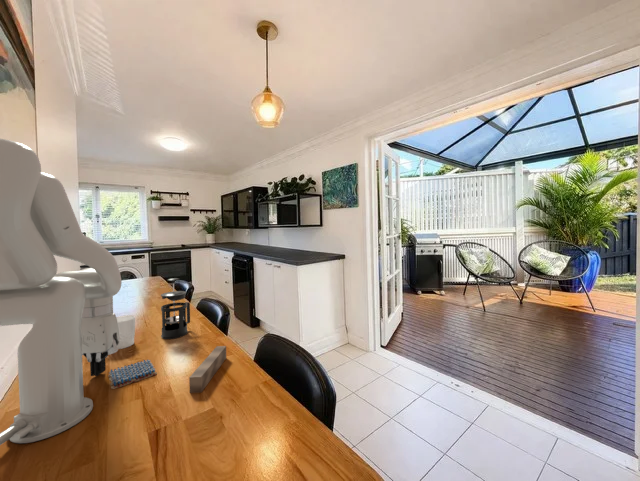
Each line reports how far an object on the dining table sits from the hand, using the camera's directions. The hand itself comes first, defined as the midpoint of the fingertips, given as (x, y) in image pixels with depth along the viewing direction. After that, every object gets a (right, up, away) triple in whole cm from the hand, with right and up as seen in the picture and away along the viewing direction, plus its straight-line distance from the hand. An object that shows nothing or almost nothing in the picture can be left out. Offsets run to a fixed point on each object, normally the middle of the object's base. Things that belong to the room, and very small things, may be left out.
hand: (98, 373), depth 73 cm
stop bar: (+32, 0, +1) cm, 32 cm away
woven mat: (+10, -1, 0) cm, 10 cm away
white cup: (-9, -1, +20) cm, 22 cm away
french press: (+5, 0, +30) cm, 31 cm away
